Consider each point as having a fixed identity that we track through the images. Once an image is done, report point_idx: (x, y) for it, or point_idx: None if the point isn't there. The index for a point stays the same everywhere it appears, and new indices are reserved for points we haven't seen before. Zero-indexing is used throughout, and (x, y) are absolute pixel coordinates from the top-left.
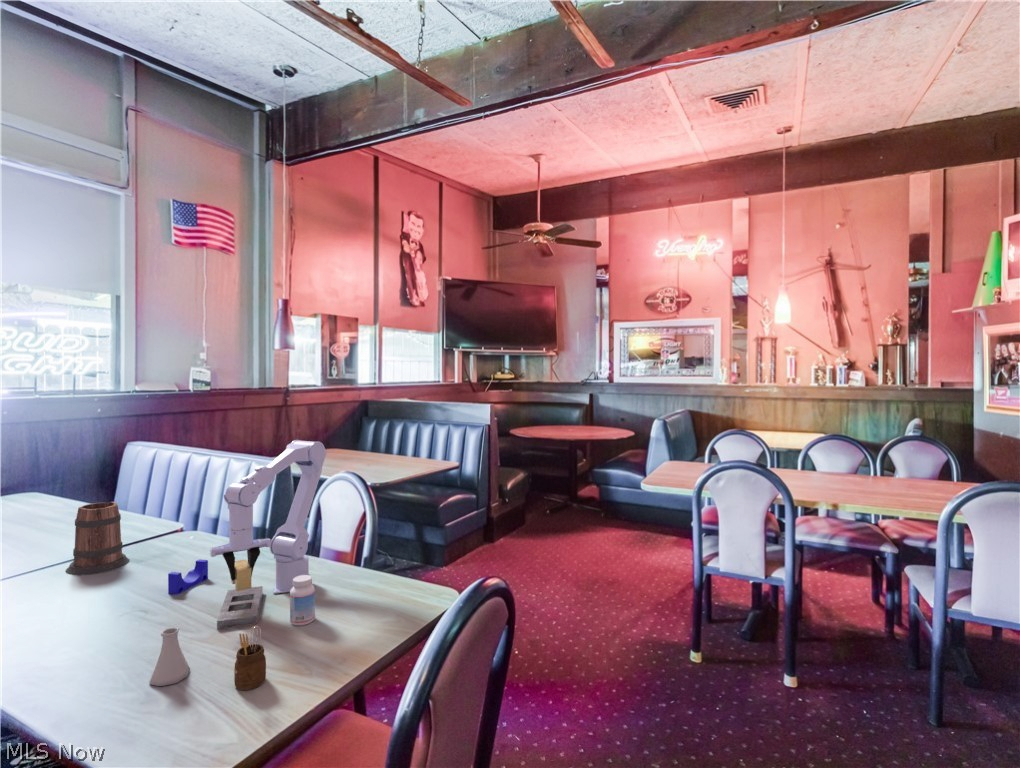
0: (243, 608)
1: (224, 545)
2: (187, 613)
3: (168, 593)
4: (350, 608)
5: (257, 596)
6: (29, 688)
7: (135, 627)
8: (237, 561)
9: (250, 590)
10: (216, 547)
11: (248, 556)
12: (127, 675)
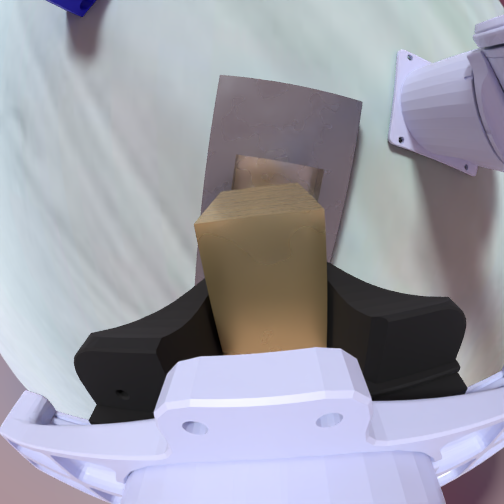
0: None
1: (68, 451)
2: (102, 175)
3: (66, 10)
4: (477, 336)
5: (331, 207)
6: (7, 353)
7: (21, 218)
8: (249, 235)
9: (312, 123)
10: (28, 442)
11: (346, 347)
12: (91, 397)
